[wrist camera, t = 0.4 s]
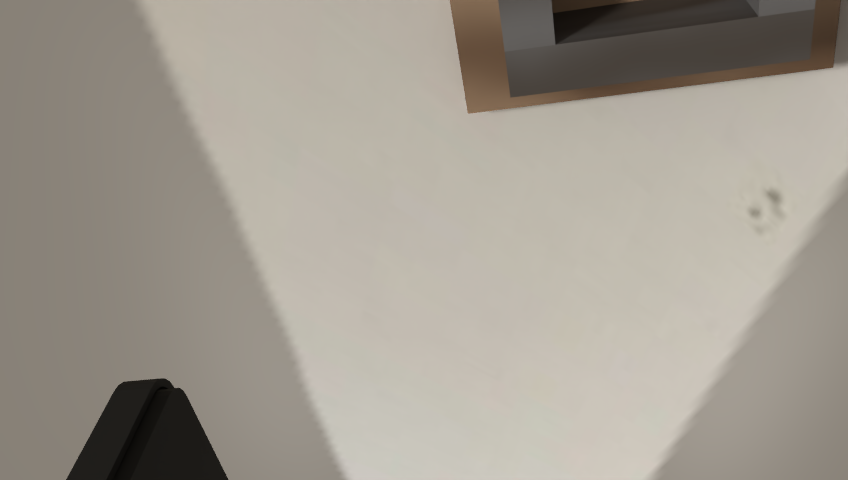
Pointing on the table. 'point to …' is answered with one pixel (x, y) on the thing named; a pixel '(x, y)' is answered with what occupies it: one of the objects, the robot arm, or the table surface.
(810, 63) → the lamp socket
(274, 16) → the table surface
